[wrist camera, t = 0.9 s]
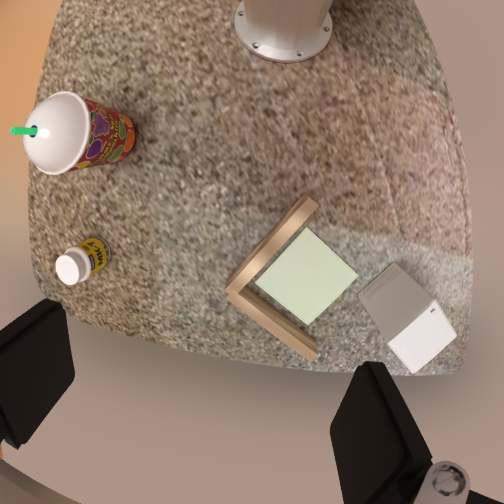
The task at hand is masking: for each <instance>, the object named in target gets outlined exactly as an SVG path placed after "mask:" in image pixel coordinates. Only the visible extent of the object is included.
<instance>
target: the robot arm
mask: <svg viewBox="0 0 504 504" xmlns="http://www.w3.org/2000/svg"><path fill="white" fill-rule="evenodd" d="M332 2H333V0H242V1H241V3H240V4H239V6H238V7H237V10H236V13H235V17H234V25H235V30H236V33H237V36H238V38H239V39H240V41H241V43H242V44H243V45H244V46H245V47H246V48H247V49H248V50H250V51H251V52H252V53H254V54H255V55H257V56H259V57H261V58H264V59H267V60H270V61H274V62H280V63H292V62H300V61H303V60H307V59H309V58H311V57H313V56H315V55H317V54H318V53H319V52H320V51H322V50H323V48H324V47H325V46H326V45H327V43H328V41H329V40H330V37H331V34H332V28H333V24H332V18H331V16H330V13H329V9H330V6H331V4H332ZM241 15H243V16H241ZM324 30H326V31H327V32H326V31H324ZM254 47H258V48H257V49H254ZM298 54H299V55H301V57H299V56H297V55H298ZM74 377H75V370H74V365H73V360H72V354H71V348H70V341H69V334H68V327H67V319H66V312H65V309H63V307H62V305H61V304H60V303H59V302H56V301H53V300H50V299H43V300H42V301H40V302H39V303H38V304H36V305H35V306H33V307H32V308H31V309H29V310H28V311H26V312H25V313H23V314H22V315H21V316H19V317H18V318H17V319H15V320H14V321H13V322H11V323H10V324H8V325H7V326H6V327H5V328H3V329H2V330H0V504H80V503H78V502H76V501H74V500H72V499H69V498H67V497H65V496H63V495H61V494H59V493H57V492H55V491H53V490H52V489H50V488H48V487H46V486H44V485H42V484H40V483H39V482H37V481H35V480H33V479H32V478H30V477H28V476H27V475H25V474H23V473H22V472H20V471H19V470H17V469H15V468H14V467H12V466H11V465H9V464H8V463H6V462H5V461H4V460H3V455H2V447H1V442H2V440H3V439H4V440H5V441H6V443H8V444H10V445H11V446H13V447H14V448H16V449H17V450H18V449H19V447H20V446H21V444H25V443H27V441H28V440H29V439H30V437H31V436H32V435H33V433H34V432H35V431H36V429H37V428H38V427H39V425H40V424H41V422H42V421H43V420H44V418H45V417H46V416H47V414H48V413H49V412H50V410H51V409H52V408H53V407H54V405H55V404H56V403H57V401H58V400H59V399H60V398H61V396H62V395H63V394H64V392H65V391H66V390H67V389H68V387H69V386H70V385H71V383H72V382H73V380H74ZM330 436H331V441H332V446H333V450H334V455H335V460H336V465H337V470H338V475H339V480H340V486H341V490H342V495H343V501H344V504H504V503H501V502H498V501H496V500H493V499H491V498H488V497H486V496H483V495H481V494H479V493H476V492H474V491H472V490H469V489H470V479H469V476H468V474H467V472H466V471H465V470H464V469H463V468H462V467H461V466H459V465H458V464H456V463H454V462H450V461H441V462H437V463H435V464H434V465H433V463H432V461H431V458H432V455H431V453H430V451H429V449H428V447H427V445H426V442H425V441H424V438H423V436H422V435H421V432H420V431H419V428H418V426H417V424H416V422H415V421H414V419H413V417H412V415H411V413H410V411H409V409H408V407H407V405H406V403H405V401H404V399H403V397H402V396H401V394H400V392H399V390H398V388H397V386H396V385H395V383H394V381H393V379H392V377H391V375H390V373H389V372H388V370H387V368H386V366H385V364H384V363H383V362H372V361H366V362H364V363H363V364H362V365H359V366H358V367H357V369H356V371H355V373H354V376H353V378H352V380H351V382H350V385H349V387H348V389H347V392H346V394H345V396H344V398H343V400H342V402H341V405H340V407H339V409H338V411H337V413H336V415H335V417H334V419H333V421H332V423H331V426H330Z"/></svg>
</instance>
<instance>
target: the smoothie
mask: <svg viewBox="0 0 504 504" xmlns="http://www.w3.org/2000/svg"><path fill="white" fill-rule="evenodd" d="M10 133H11V134H12V135H22V139H23V146H24V150H25V153H26V155H27V156H28V158H29V159H30V160H31V162H32V163H33V164H34V165H36V167H37V168H38V169H39V170H40V171H42V172H44V173H45V174H49V175H58V174H61V173H65V172H69V171H74V170H79V169H83V168H88V167H93V166H98V165H104V164H109V163H114V162H118V161H120V160H121V159H123V158H124V157H126V155H127V154H128V153H129V152H130V150H131V148H132V146H133V143H134V139H135V131H134V126H133V124H132V122H131V120H130V119H129V118H128V117H127V116H126V115H123V114H121V113H119V112H117V111H114V110H112V109H110V108H107V107H105V106H103V105H100V104H98V103H96V102H93V101H91V100H88V99H86V98H84V97H81V96H79V95H78V94H75V93H73V92H70V91H62V92H58V93H56V94H53V95H51V96H49V97H48V98H47V99H46V100H44V101H42V102H41V103H39V104H38V105H37V106H36V107H35V108H34V109H33V110H32V111H31V113H30V115H29V116H28V118H27V120H26V122H25V125H24V127H12V128H11V132H10Z"/></svg>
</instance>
